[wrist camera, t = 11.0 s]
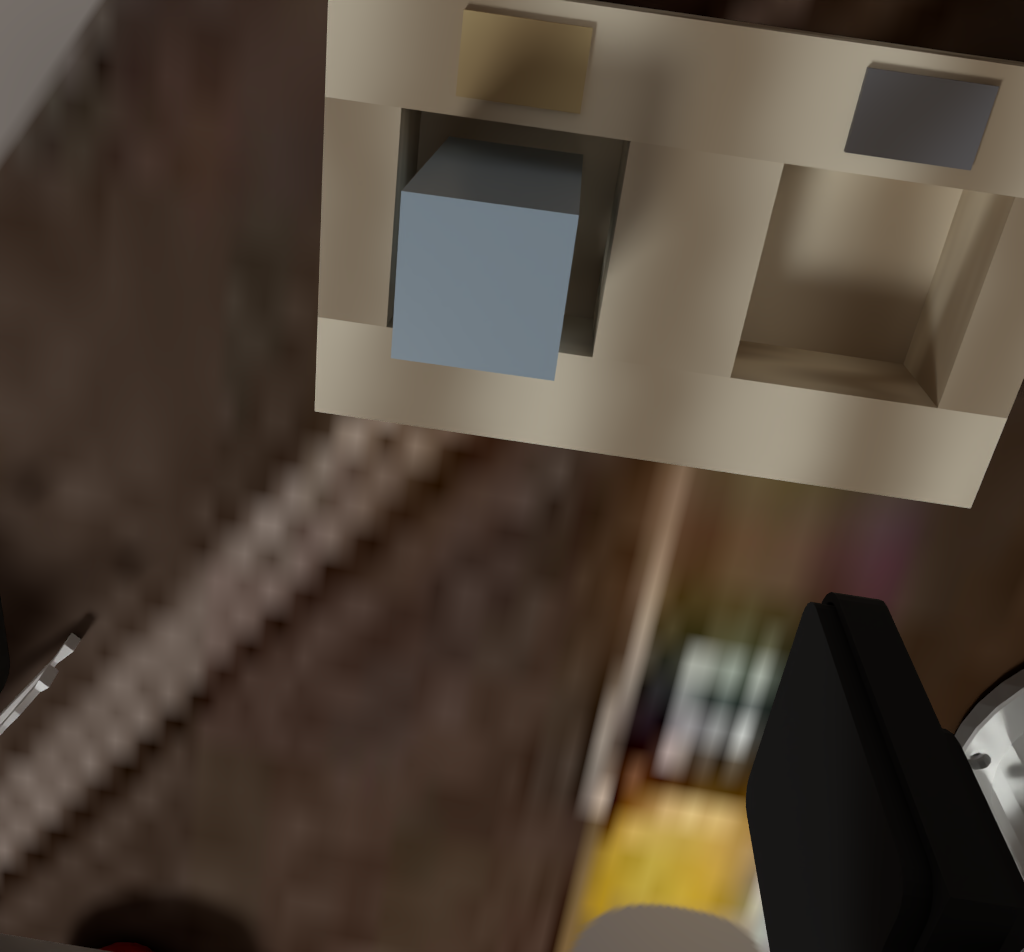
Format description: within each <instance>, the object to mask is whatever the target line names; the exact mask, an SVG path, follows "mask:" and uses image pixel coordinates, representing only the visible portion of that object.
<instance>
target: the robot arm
mask: <svg viewBox="0 0 1024 952" xmlns="http://www.w3.org/2000/svg"><path fill="white" fill-rule="evenodd" d="M9 668H10V659H9V652H8V645H7V639H6V632H5V625H4V618H3V611H2V604H1V598H0V692H1V691H2V689H3V687H4V685H5V683H6V681H7V677H8V674H9ZM746 811H747V818H748V824H749V830H750V836H751V841H752V847H753V853H754V859H755V865H756V871H757V877H758V883H759V889H760V894H761V900H762V906H763V912H764V918H765V924H766V930H767V936H768V942H769V947H770V952H1024V669H1023V670H1021V671H1020V672H1018V673H1016V674H1015V675H1013V676H1012V677H1010V678H1008V679H1007V680H1005V681H1004V682H1002V683H1001V684H1000V685H998V686H997V687H996V688H995V689H994V690H993V691H991V692H990V693H989V694H988V695H987V696H986V697H984V698H983V699H982V700H981V701H980V702H979V703H978V704H977V705H976V706H975V707H974V709H973V710H972V711H971V712H970V714H969V715H968V716H967V717H966V718H965V720H964V721H963V722H962V723H961V725H960V726H959V728H958V730H957V732H956V734H955V735H954V734H953V733H951V732H949V731H948V730H946V729H942V728H941V725H940V723H939V721H938V719H937V717H936V714H935V712H934V710H933V708H932V705H931V703H930V701H929V699H928V697H927V694H926V692H925V690H924V688H923V685H922V683H921V681H920V679H919V677H918V674H917V672H916V670H915V668H914V665H913V663H912V661H911V659H910V657H909V654H908V652H907V650H906V648H905V645H904V643H903V641H902V639H901V637H900V634H899V632H898V630H897V628H896V625H895V623H894V621H893V619H892V616H891V614H890V612H889V610H888V608H887V606H886V604H885V603H884V601H882V600H879V599H872V598H866V597H859V596H853V595H846V594H840V593H833V592H831V593H829V594H827V595H826V597H825V598H824V599H823V601H822V604H820V603H814V602H810V603H808V604H807V606H806V607H805V609H804V612H803V614H802V617H801V621H800V624H799V627H798V630H797V633H796V636H795V639H794V642H793V645H792V648H791V651H790V654H789V657H788V660H787V663H786V666H785V669H784V672H783V676H782V679H781V682H780V685H779V688H778V691H777V694H776V697H775V700H774V703H773V706H772V709H771V712H770V715H769V718H768V721H767V724H766V727H765V730H764V734H763V737H762V740H761V743H760V746H759V749H758V752H757V755H756V758H755V761H754V764H753V767H752V770H751V773H750V776H749V780H748V785H747V792H746ZM0 952H111V951H105V950H99V949H93V948H86V947H80V946H74V945H68V944H62V943H56V942H49V941H43V940H37V939H31V938H25V937H19V936H12V935H6V934H0Z"/></svg>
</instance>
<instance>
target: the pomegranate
mask: <svg viewBox="0 0 1024 952" xmlns="http://www.w3.org/2000/svg"><path fill="white" fill-rule="evenodd" d="M99 950H105V951H111V952H154V951H152V950H151V949H150V948H149V947H147V946H143V945H141V944H138V943H132V942H116V943H113V944H111V945H108V946H105V947H103V948H101V949H99Z"/></svg>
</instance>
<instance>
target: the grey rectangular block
mask: <svg viewBox="0 0 1024 952" xmlns="http://www.w3.org/2000/svg"><path fill="white" fill-rule="evenodd" d="M582 164H583V155H582V154H575V153H568V152H560V151H553V150H546V149H538V148H531V147H524V146H516V145H509V144H502V143H494V142H487V141H480V140H472V139H465V138H458V137H450V136H449V137H448V139H447V140H446V141H445V142H444V143H443V144H442V145H441V146H440V148H439V149H438V150H437V151H436V152H435V153H434V154H433V156H432V157H431V158H430V159H429V160H428V161H427V162H426V163H425V165H424V166H423V167H422V168H421V169H420V170H419V171H418V173H417V174H416V175H415V176H414V177H413V178H412V179H411V180H410V182H409V183H408V184H407V185H406V186H405V187H404V188H403V190H402V191H401V203H400V219H399V235H398V251H397V267H396V284H395V300H394V316H393V332H392V348H391V358H393V359H401V360H408V361H415V362H422V363H429V364H436V365H444V366H451V367H458V368H465V369H472V370H479V371H487V372H494V373H501V374H508V375H515V376H522V377H530V378H537V379H544V380H551V381H554V379H555V372H556V366H557V359H558V352H559V346H560V339H561V332H562V326H563V319H564V312H565V305H566V299H567V292H568V285H569V279H570V272H571V265H572V259H573V252H574V245H575V239H576V232H577V225H578V218H579V208H580V193H581V179H582Z"/></svg>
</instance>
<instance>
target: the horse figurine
mask: <svg viewBox="0 0 1024 952" xmlns="http://www.w3.org/2000/svg"><path fill="white" fill-rule="evenodd" d="M80 640H81V639H80V638H78V637H77V636H76V635H74V634H73V633H71V635H70V636H69V637H68V639H67V640H66V642H65V643H64V644H63V646H62V647H61V649H60V650H59V651H58V653H57V654H56V655H55V657H54V658H53V659H52V660H51V661H50V662H49V664H48V665H47V666H46V667H45V668H44V669H43V670H42V671H41V672H40V673H39V674H38V675H37V676H36V677H35V678H34V679H33V680H32V681H31V682H30V683H29V684H28V685H27V686H26V687H25V688H24V689H23V691H22V692H21V693H20V694H19V695H18V696H17V697H16V698H15V699H14V700H13V701H12V702H11V703H10V704H9V705H8V706H7V707H6V708H5V709H4V710H3V711H2V712H1V713H0V724H1V725H0V735H1V734H2V733H3V732H4V731H5V729H6V728H7V727H8V726H9V725H10V724H11V723H12V722H13V721H14V720H15V719H16V718H17V717H18V716H19V715H20V714H21V713H22V712H23V711H24V710H25V709H26V707H27V706H28V705H29V704H30V703H31V702H32V701H33V699H34V698H35V697H36V696H37V695H38V694H39V693H40V692H41V691H43V690H45V689H47V688H49V687H50V685H51V683H52V682H53V680H54V678H55V677H56V675H57V673H58V670H57V669H56V668H54V667H55V666H56V664H57V663H59V662H60V661H61V660H63V659H64V658H65V657H67V656H68V655H69V654H71V653H72V652H73V651H74V650H75V648H76V647H77V645H78V644H79V642H80Z"/></svg>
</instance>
